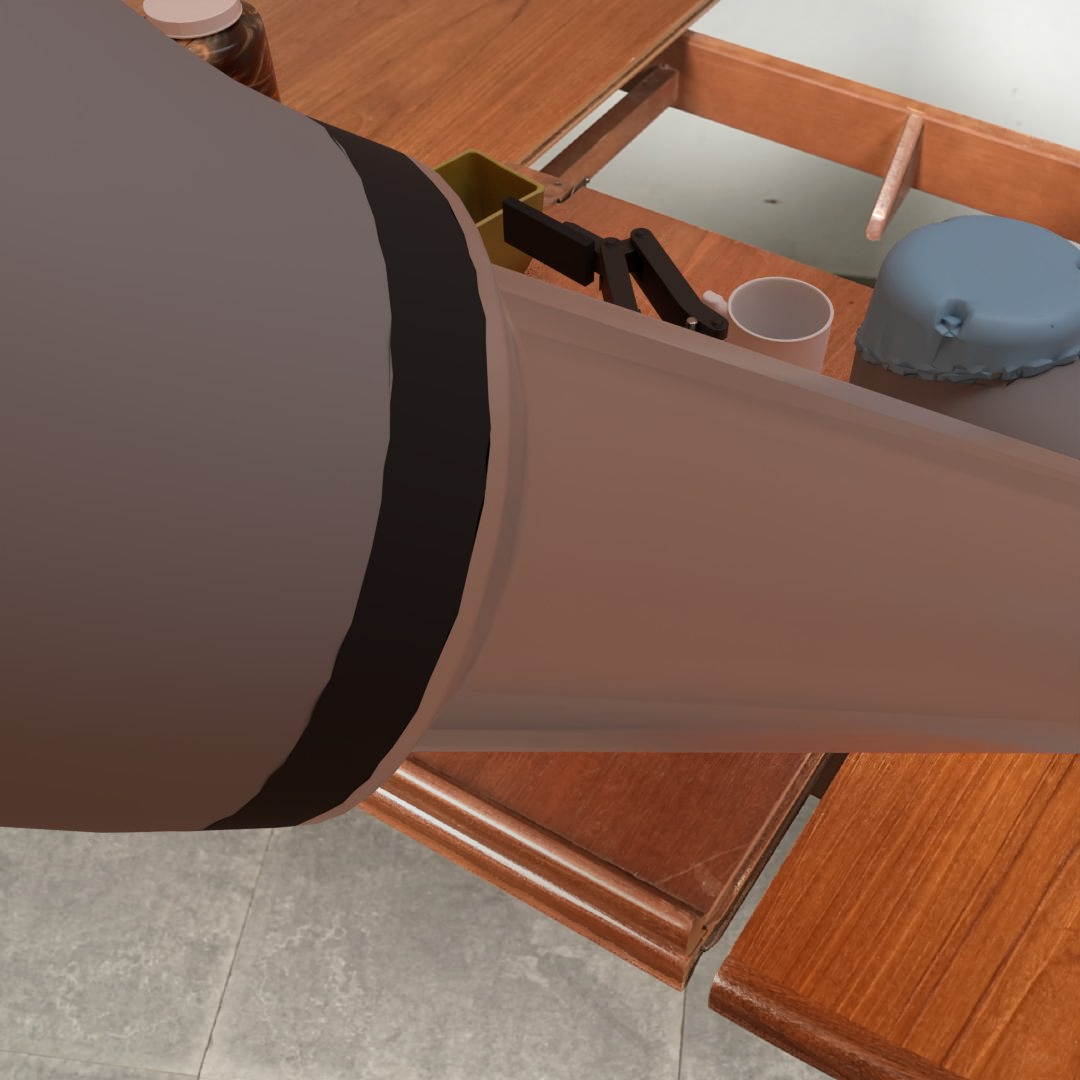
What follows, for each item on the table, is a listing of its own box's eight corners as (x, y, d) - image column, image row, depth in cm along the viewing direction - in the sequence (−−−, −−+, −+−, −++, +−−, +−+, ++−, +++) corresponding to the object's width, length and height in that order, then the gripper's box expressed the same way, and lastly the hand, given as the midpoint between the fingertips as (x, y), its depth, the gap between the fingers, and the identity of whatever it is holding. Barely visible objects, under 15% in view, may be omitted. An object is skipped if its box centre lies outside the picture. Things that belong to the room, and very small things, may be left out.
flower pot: (400, 283, 100) (388, 188, 93) (479, 239, 104) (472, 144, 97) (471, 330, 95) (463, 234, 89) (550, 282, 99) (548, 186, 93)
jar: (145, 152, 114) (98, -6, 103) (255, 112, 119) (221, -44, 108) (201, 207, 108) (156, 45, 97) (314, 162, 112) (284, 3, 101)
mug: (824, 435, 87) (852, 300, 78) (778, 490, 83) (802, 355, 74) (705, 381, 91) (718, 247, 82) (656, 431, 87) (664, 297, 78)
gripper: (540, 655, 54) (253, 432, 64) (858, 385, 65) (573, 232, 75) (537, 545, 48) (222, 319, 58) (886, 270, 60) (574, 122, 70)
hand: (420, 270), depth 67 cm, fingers open, 13 cm apart
